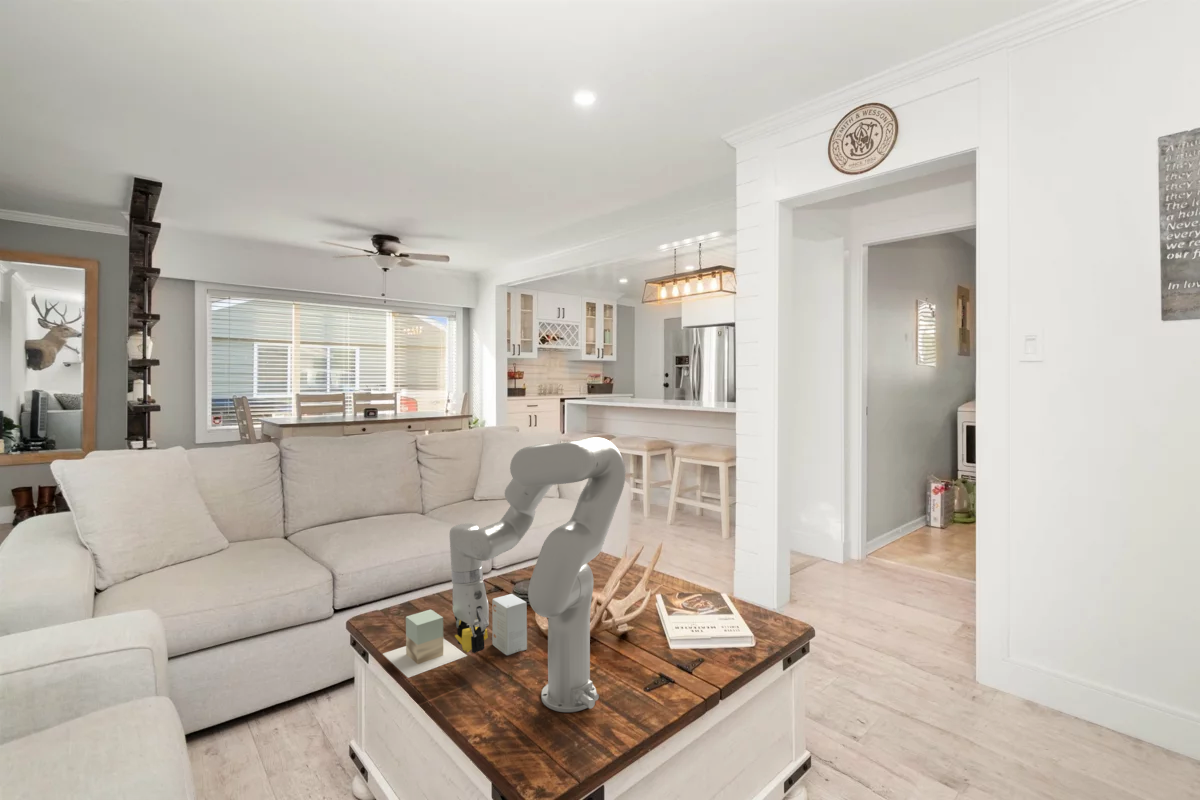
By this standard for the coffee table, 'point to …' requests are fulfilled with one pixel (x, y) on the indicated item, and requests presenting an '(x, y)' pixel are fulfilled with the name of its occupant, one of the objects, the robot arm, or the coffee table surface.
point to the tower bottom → (424, 650)
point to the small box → (509, 624)
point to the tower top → (424, 626)
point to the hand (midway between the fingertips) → (471, 645)
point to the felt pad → (413, 668)
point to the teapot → (467, 639)
